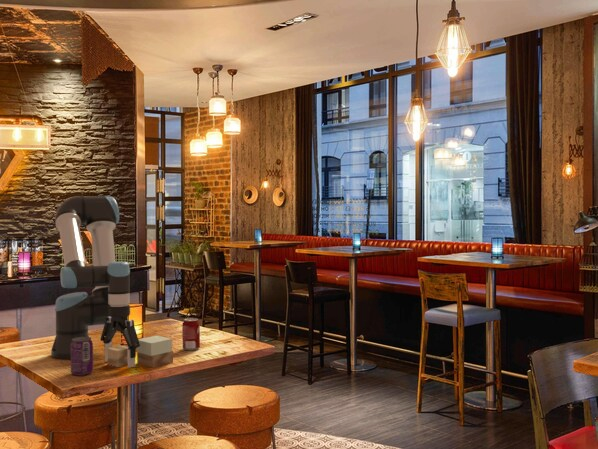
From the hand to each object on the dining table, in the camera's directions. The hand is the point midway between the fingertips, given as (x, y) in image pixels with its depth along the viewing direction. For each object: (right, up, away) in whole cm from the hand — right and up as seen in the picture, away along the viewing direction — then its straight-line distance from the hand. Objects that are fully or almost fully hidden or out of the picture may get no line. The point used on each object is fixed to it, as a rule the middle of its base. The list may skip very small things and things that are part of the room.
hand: (120, 363), depth 224 cm
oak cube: (0, 0, 0) cm, 0 cm away
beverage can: (-10, -1, -12) cm, 15 cm away
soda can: (+22, +1, +23) cm, 31 cm away
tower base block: (+12, 0, +2) cm, 12 cm away
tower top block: (+12, +4, +1) cm, 13 cm away
